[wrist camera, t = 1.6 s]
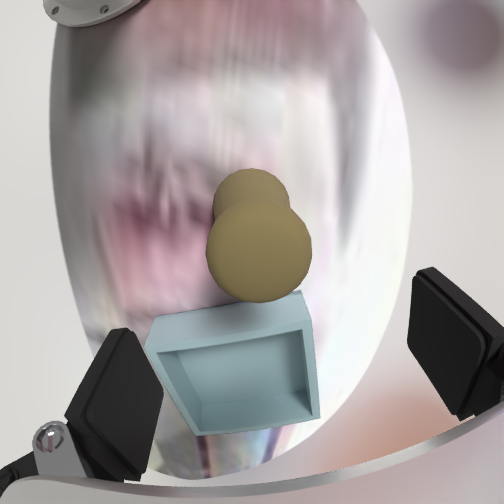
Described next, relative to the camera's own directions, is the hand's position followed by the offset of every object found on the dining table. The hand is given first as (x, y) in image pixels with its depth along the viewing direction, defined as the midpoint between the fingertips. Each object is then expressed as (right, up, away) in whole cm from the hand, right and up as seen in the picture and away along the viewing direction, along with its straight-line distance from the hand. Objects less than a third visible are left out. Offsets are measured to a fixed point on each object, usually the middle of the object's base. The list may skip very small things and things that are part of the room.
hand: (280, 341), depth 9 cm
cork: (-1, +6, +14) cm, 16 cm away
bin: (-2, -8, +20) cm, 22 cm away
